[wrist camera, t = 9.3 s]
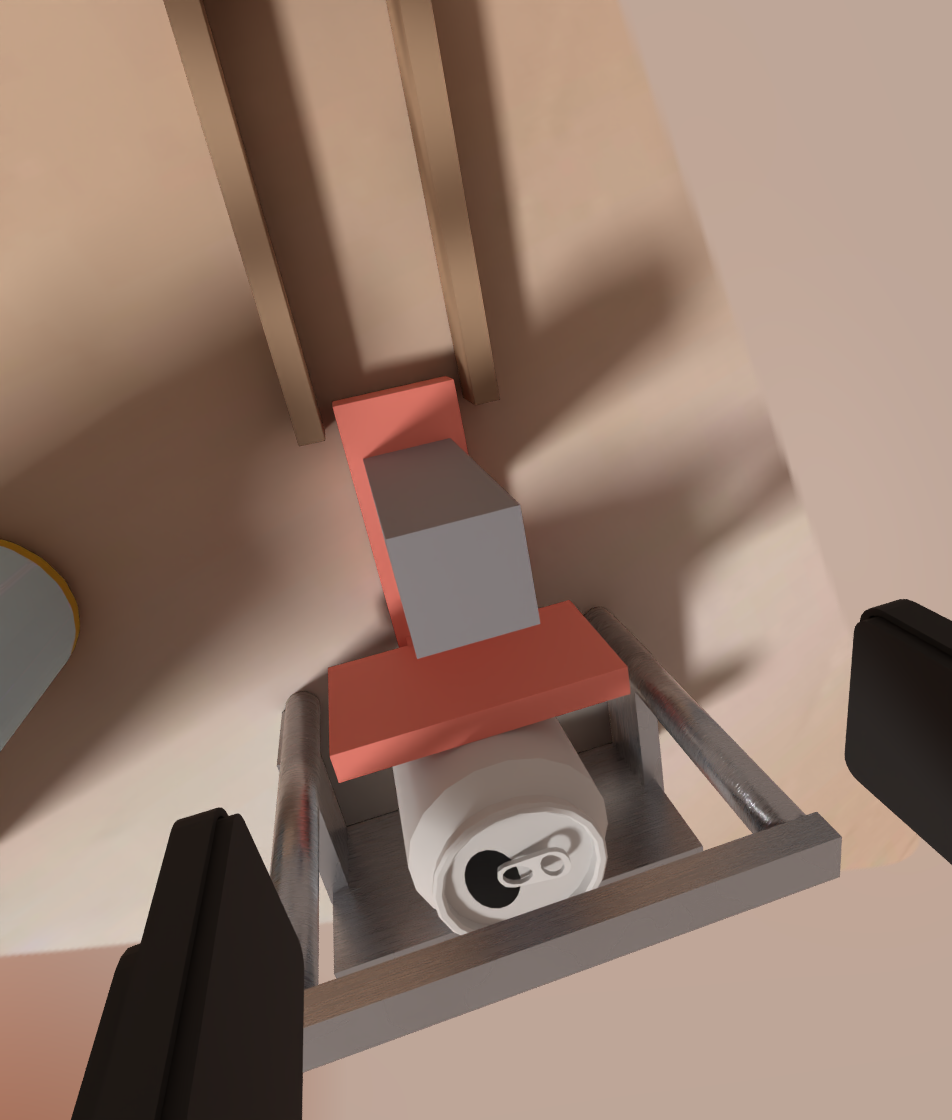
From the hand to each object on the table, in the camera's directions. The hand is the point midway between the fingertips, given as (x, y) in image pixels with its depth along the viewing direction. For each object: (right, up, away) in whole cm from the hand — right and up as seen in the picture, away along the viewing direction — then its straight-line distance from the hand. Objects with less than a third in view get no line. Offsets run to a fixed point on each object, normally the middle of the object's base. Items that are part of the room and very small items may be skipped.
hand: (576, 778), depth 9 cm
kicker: (-4, +5, +19) cm, 20 cm away
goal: (-2, -6, +24) cm, 25 cm away
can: (-3, -3, +23) cm, 24 cm away
